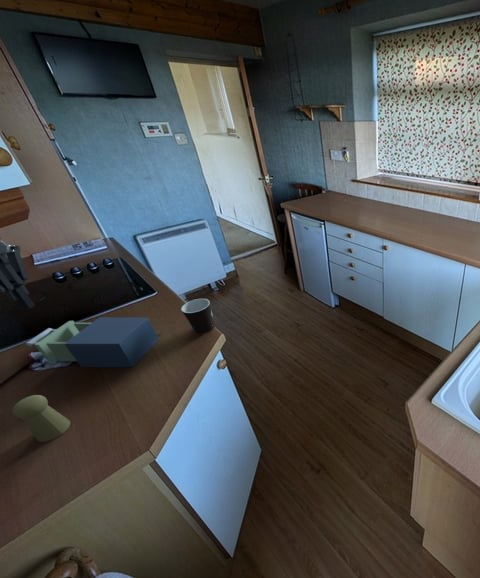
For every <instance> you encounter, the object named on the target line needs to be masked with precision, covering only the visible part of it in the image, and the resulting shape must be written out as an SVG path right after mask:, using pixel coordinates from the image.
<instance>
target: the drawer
mask: <svg viewBox="0 0 480 578" xmlns="http://www.w3.org/2000/svg"><path fill="white" fill-rule="evenodd" d="M91 323H92V322H75V321H74V320H68V321H67V322H65V323H64V324H63V325H61V326H59V327H58V328H57V329H54V328H51V327H48V328H47V329H45V330H43V331H42V332H40V333H39V334H38V335H36V336H34V337H33V338H31V339H30V340H28V341H26V342H25V345H26V346H27V347H33V346H35V348H36V349H37V350H38V351H39V352H40V354H41V355H42V356H43V357H44V359H46V361H47V362H48V363H49V364H50V365H53V364H54V365H55V364H56V363H57V362H58V361H59V362H77V360H76V359H75V358H74V356H73V355H72V354H71V352H70V351H69V350H68V348H67V347H66V346H65V343H66V342H67V341H69V340H70V339H71V338H73V337H74V336H75V335H77V334H78V333H79V332H81V331H82V330H83V329H85V328H86V327H87V326H89V325H90V324H91Z"/></svg>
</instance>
